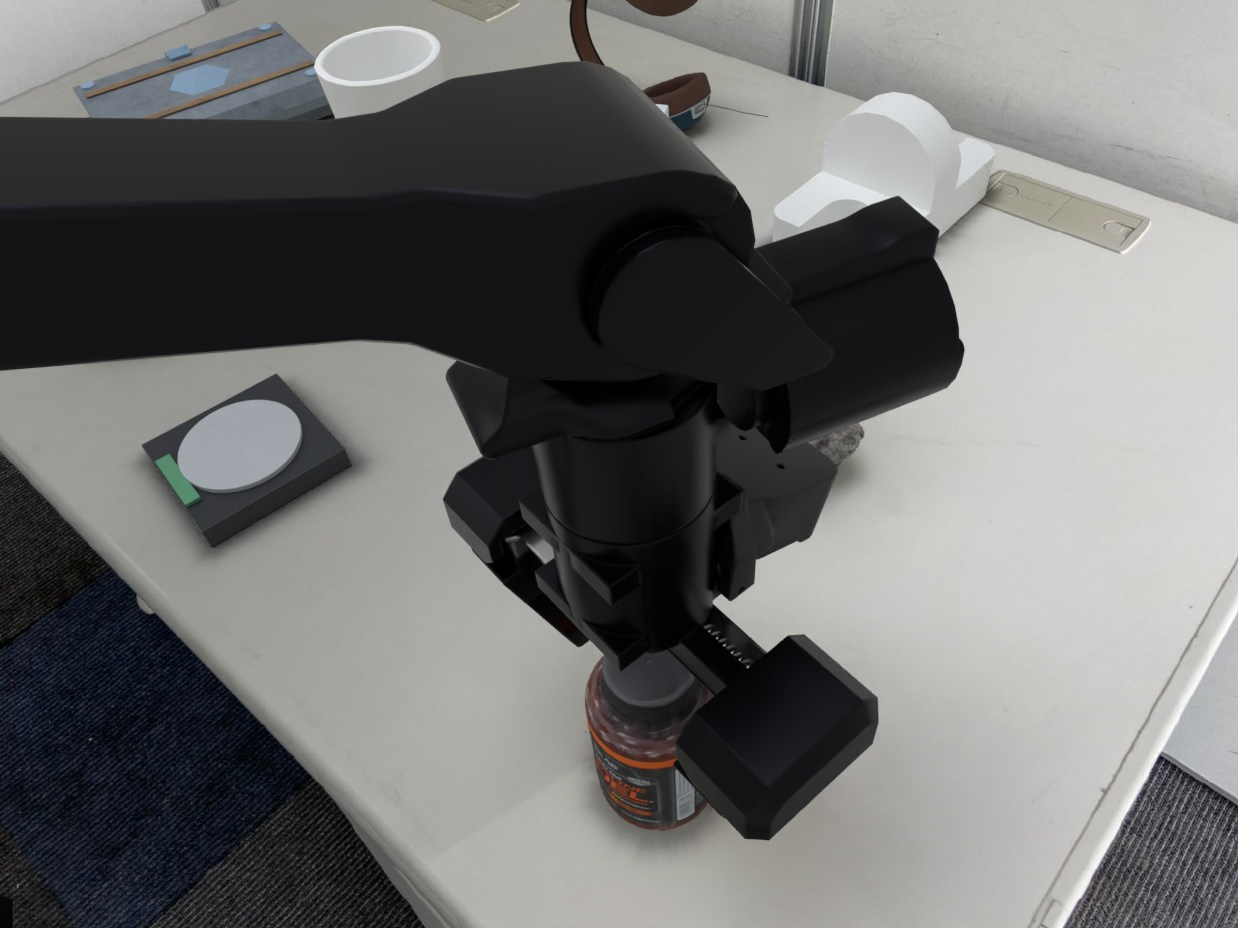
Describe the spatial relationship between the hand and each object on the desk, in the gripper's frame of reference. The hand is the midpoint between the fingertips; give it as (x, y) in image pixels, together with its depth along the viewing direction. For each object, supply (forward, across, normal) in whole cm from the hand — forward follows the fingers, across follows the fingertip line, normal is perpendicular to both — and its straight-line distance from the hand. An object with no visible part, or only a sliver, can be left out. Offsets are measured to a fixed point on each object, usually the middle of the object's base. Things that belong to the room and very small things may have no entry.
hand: (649, 706), depth 43 cm
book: (+8, +80, -12) cm, 81 cm away
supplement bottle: (+8, 0, 0) cm, 8 cm away
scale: (+7, +34, +6) cm, 36 cm away
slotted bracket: (+7, +23, -44) cm, 50 cm away
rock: (+8, +13, -20) cm, 25 cm away
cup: (+8, +54, -19) cm, 58 cm away
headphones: (+7, +47, -42) cm, 64 cm away
